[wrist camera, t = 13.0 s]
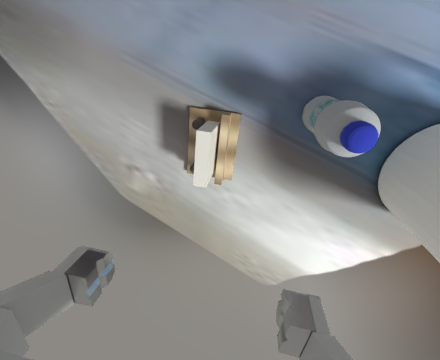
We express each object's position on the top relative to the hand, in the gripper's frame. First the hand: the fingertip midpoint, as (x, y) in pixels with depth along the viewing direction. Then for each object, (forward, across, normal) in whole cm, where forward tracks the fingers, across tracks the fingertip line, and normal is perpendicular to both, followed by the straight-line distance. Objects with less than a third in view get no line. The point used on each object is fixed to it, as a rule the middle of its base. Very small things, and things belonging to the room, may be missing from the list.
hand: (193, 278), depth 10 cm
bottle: (+37, -13, -4) cm, 40 cm away
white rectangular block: (+36, +6, +5) cm, 37 cm away
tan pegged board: (+37, +6, +5) cm, 38 cm away
